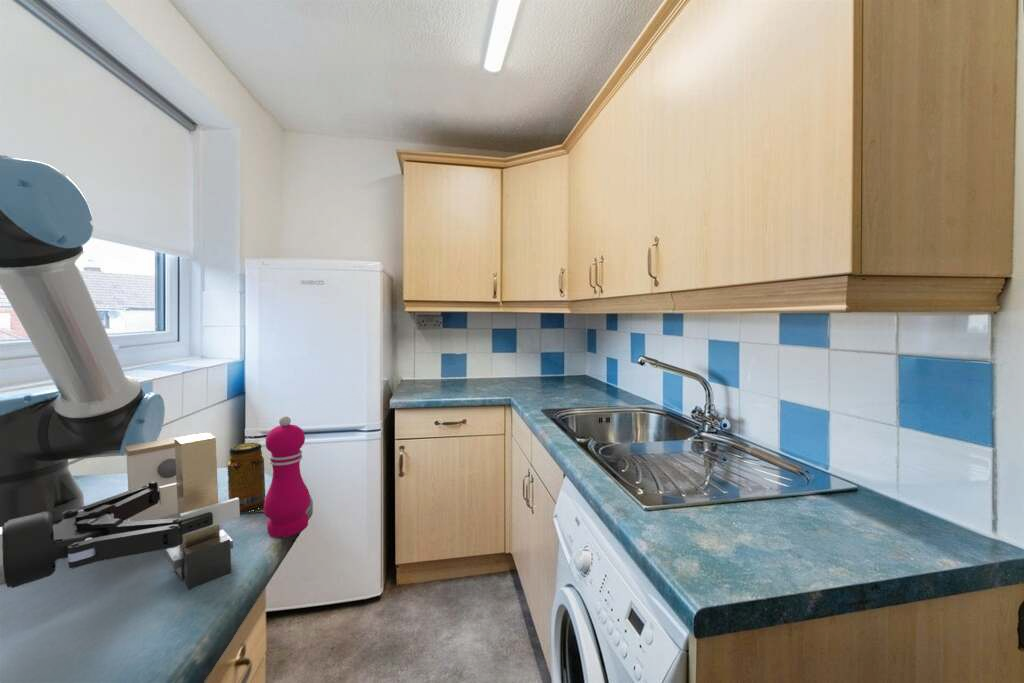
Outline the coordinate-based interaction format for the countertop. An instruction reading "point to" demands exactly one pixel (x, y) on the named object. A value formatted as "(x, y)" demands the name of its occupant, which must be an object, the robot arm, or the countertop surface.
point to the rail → (205, 560)
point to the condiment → (247, 477)
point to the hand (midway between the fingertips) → (224, 494)
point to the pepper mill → (286, 481)
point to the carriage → (195, 490)
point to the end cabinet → (152, 472)
